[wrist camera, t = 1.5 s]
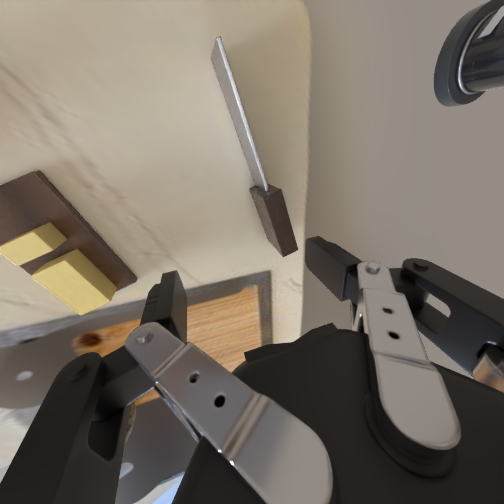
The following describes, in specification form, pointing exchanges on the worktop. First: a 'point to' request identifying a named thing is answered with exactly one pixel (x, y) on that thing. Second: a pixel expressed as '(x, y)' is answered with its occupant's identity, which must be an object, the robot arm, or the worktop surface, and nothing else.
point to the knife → (255, 163)
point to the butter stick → (76, 282)
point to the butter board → (63, 218)
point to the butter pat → (32, 244)
